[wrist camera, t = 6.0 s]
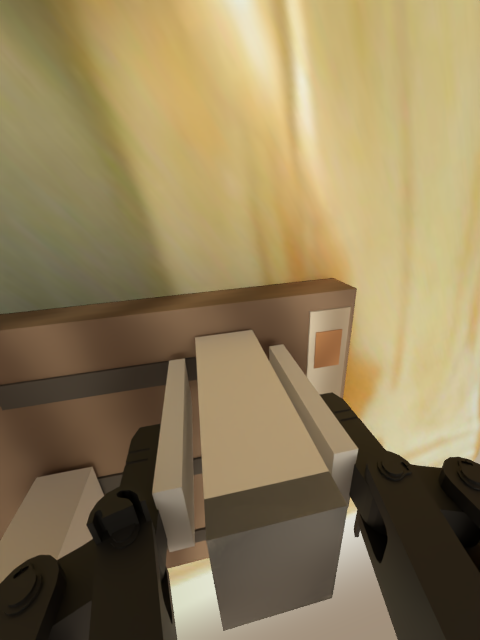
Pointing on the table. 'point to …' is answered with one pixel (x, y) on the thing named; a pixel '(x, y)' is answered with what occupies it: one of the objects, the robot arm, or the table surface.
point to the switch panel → (142, 376)
